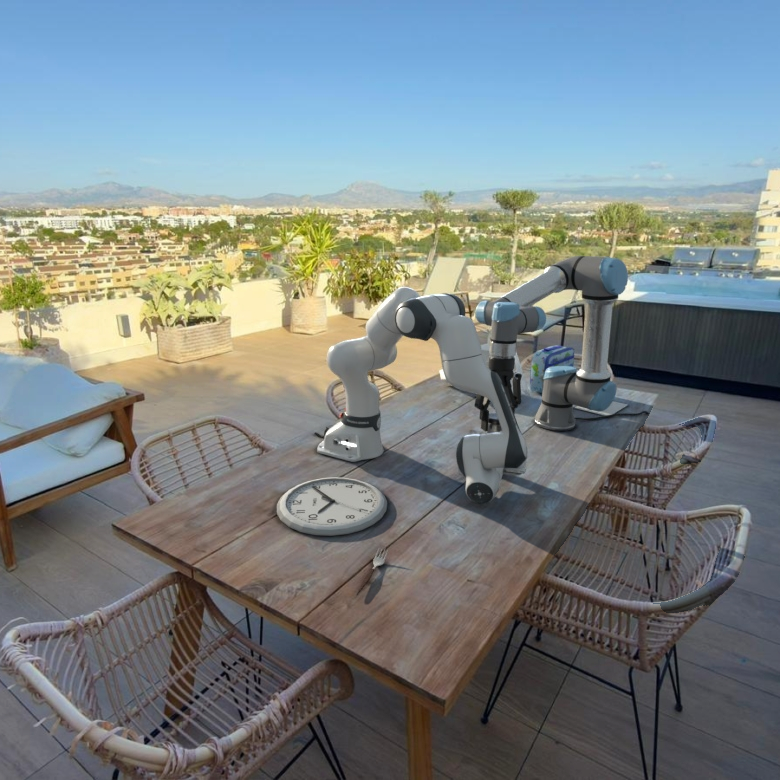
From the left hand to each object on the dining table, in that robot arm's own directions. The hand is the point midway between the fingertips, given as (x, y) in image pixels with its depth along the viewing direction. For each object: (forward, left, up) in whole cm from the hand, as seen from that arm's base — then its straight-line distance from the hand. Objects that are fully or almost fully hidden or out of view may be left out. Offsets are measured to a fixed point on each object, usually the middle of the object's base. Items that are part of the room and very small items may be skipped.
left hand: (494, 450), depth 163 cm
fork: (-18, -62, -7) cm, 65 cm away
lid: (0, -1, +11) cm, 11 cm away
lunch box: (+14, +96, -7) cm, 97 cm away
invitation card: (+36, +79, -7) cm, 87 cm away
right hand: (0, -1, +8) cm, 8 cm away
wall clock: (-38, -38, -7) cm, 54 cm away
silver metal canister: (0, -1, -7) cm, 7 cm away
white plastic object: (-17, +80, -7) cm, 82 cm away
